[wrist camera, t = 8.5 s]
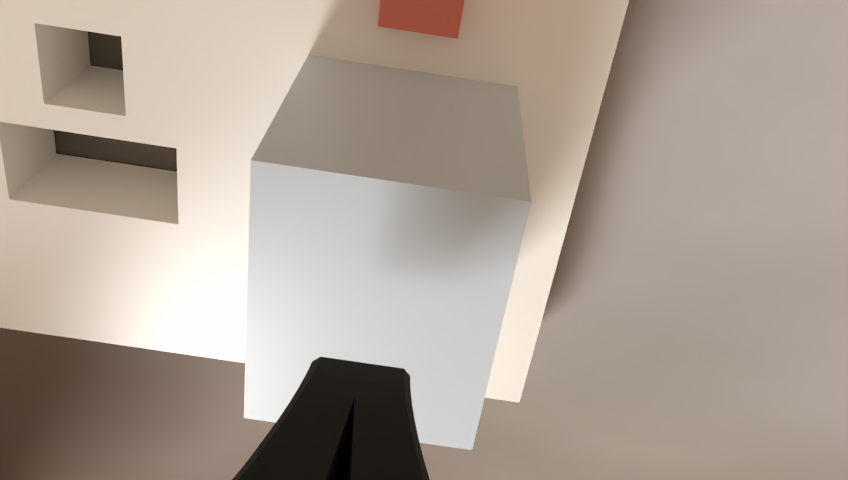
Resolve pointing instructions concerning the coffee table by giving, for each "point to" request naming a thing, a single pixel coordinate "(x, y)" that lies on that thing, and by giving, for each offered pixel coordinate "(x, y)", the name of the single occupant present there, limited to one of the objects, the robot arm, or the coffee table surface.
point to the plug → (385, 236)
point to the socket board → (248, 149)
